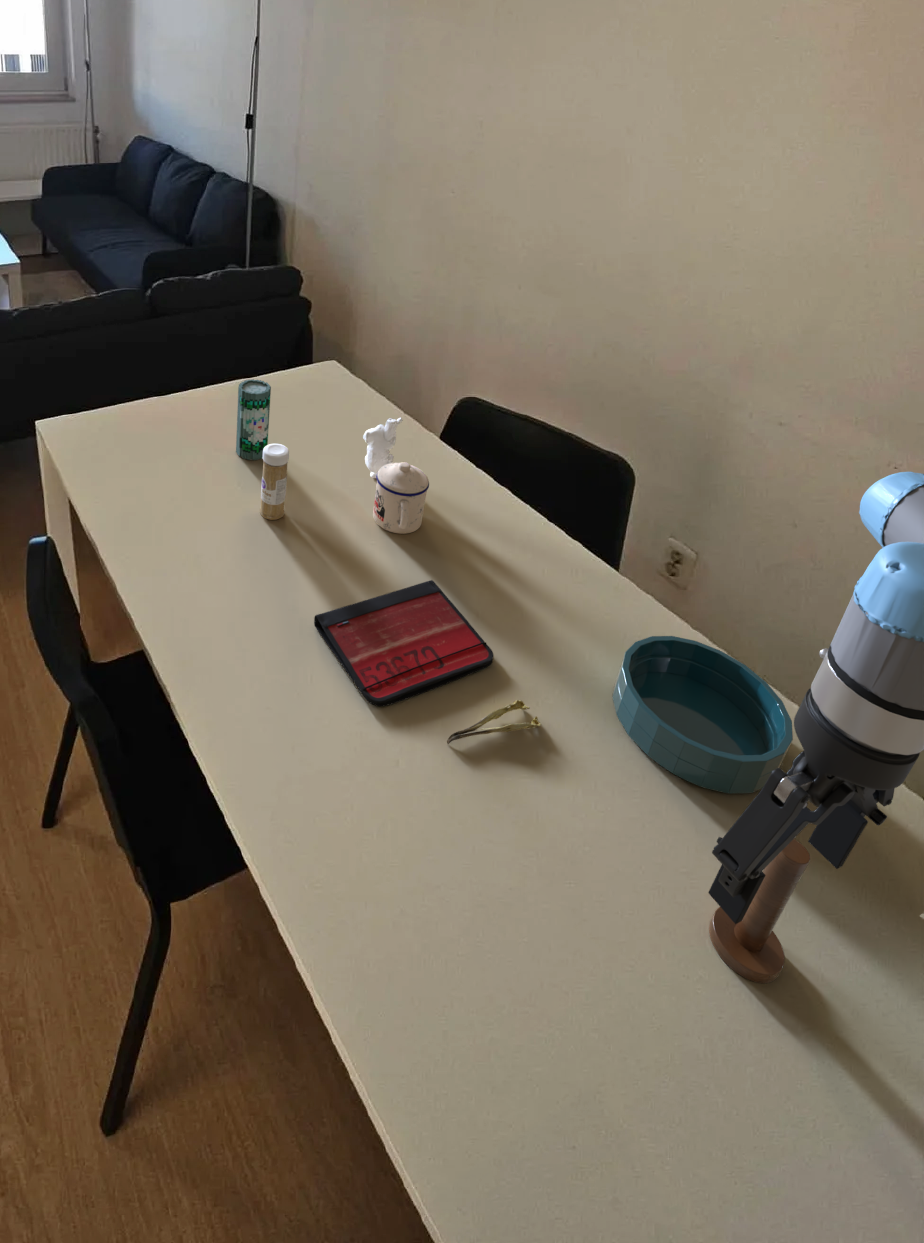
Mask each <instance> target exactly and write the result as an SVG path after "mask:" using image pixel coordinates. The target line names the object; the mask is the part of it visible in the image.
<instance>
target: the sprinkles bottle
mask: <svg viewBox="0 0 924 1243" xmlns="http://www.w3.org/2000/svg"><path fill="white" fill-rule="evenodd" d="M289 460H290V449H289V448H288V447H287V446H286V445H284V444H281V443H270V444H269V443H268V445H267V446H265V447H264V449H263V457H262V461H263V462H262V464H263V465H262V477H261V488H260V507H259V514H260V516H261V517H263V518H264V519H266V520H269V521H270V520H271V521H277V520H279V519H281V518H283V517H284V515H285V502H286V494H287V481H288V480H287V479H288V463H289Z"/></svg>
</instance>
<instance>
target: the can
mask: <svg viewBox="0 0 924 1243" xmlns="http://www.w3.org/2000/svg"><path fill="white" fill-rule="evenodd" d="M271 393H272V386H271V385H270V384H269V383H268V382H267V381H264V380H261V379H254V378H253V379H246V380H243V381H241V382H240V383H239V384H238V389H237V411H236V413H237V414H236V438H235V439H236V440H235V441H236V442H235V453H236V454H237V455H238V457H239V458H241V459H244V460H247V461H258V460H263V449H264V447H265V446H267V445H269V430H270V429H269V428H270V410H271V409H270V408H271V395H272V394H271Z"/></svg>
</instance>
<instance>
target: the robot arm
mask: <svg viewBox="0 0 924 1243" xmlns="http://www.w3.org/2000/svg"><path fill="white" fill-rule="evenodd" d="M858 514H859V516H860V520H861V522H862V524H863V525H864V527H865V528H866V529H867V530H868V531H869V533H870V534H871V536H872V537H873V538H874V539H875V540H876V542H877V543H878V544H879V545H880V546H881V549H879V550H878V551H877V553H876V554H875V555H874V557H873V559H872V560H871V561H870V563H869V565H868V566H867V567H866V570H865V571H864V573H863V575H861V576H860V577H859V579H858V580H857V581H856V584H855V585H854V588H853V589H854V590H853V593H852V596H851V598H850V600H849V603H848V605H847V607H846V609H845V611H844V613H843V616H842V617H841V620H840V623H839V625H838V627H837V628H836V631H835V634H834V635H833V638H832V640H831V642H830V644H829V646H828V647H825V648H822V649H821V650H819V652H818V655H819V657H820V659H822V661H821V664H820V666H819V668H818V670H817V672H816V674H815V676H814V678H813V680H812V682H811V685H810V688H809V689H808V690H807V691H806V693H805V695H804V697H803V698H802V700H801V703H800V705H799V707H798V709H797V711H796V713H795V716H794V718H793V727H794V731H795V734H796V737H797V739H798V741H799V743H800V745H801V748H802V750H803V751H801V752H800V753H799V754H798V755H797V756H796V757H795V758H794V759H793V761H792V766H791V767H790V768H789V769H788V771H787V772H785V771H784V770H783V769H782V768H777V769H774V770H773V771H772V772H771V775H770V776H769V778H768V780H767V782H766V783H765V785H764V787H763V788H762V789H760V791H759V792H758V793H757V795H756V796H755V798H753V800H752V801H751V803H749V805H748V806H747V807H746V809H745V810H744V811H743V812H742V813H741V815H740V816H739V817H738V818H737V820H735V822H734V823H733V824H732V826H731V827H730V828H729V830H728V831H726V833H725V835H723V837H722V836H718V838H717V839H716V843H717V844H716V845H714V846H713V849H712V851H711V853H712V855H713V856H714V857H715V859H716V860H718V861H719V863H720V867H719V869H718V872H717V873H716V875H715V878H714V879H713V882H712V884H711V886H710V888H709V890H708V892H707V893H708V895H709V896H710V897H711V898H712V900H714V902H715V903H716V904H717V905H718V907H721V908H722V909H723V910H724V912H725V913H726V914H727V915H728V916H729V917H730V918H731V920H732V921H733V922H734V923H735V924H737V923H739V922H741V921H742V919H743V918H744V916H745V914H746V912H747V910H748V908H749V906H750V904H751V902H752V900H753V898H754V897H755V895H756V893H757V891H758V889H759V887H760V885H761V883H762V881H763V879H764V878H765V876H766V875H765V874H764V873H763V870H764V869H765V868H766V867H767V866H768V865H769V863H770V862H771V861H772V860H773V859H774V858H775V857H776V856H777V855H778V854H779V853H780V852H781V851H782V850H783V849H784V848H785V847H786V846H787V845H788V844H789V843H790V842H791V841H792V840H793V839H795V838H796V837H797V836H798V835H799V834H800V833H801V832H802V831H804V829H805V828H806V827H807V826H809V824H811V825H814V826H815V827H814V830H812V833H811V835H810V837H809V838H808V840H807V842H808V843H809V844H810V845H811V846H812V847H813V848H814V849H815V850H816V851H817V852H818V853H819V854H820V855H821V856H822V857H824V859H826V860H827V861H828V863H830V865H832V866H833V867H834V868H835V869H836V870H838V869H840V868H842V867H843V866H844V864H845V862H846V861H847V859H848V857H849V855H850V854H851V852H852V851H853V848H854V847H855V845H856V843H857V842H858V840H859V838H860V837H861V835H862V833H863V831H864V830H865V828H866V826H867V825H868V823H869V820H871V821H872V822H873V823H874V824H875V825H876V826H880V825H882V824H883V823H884V822H885V821H886V820H887V818H888V815H886V814H885V813H884V812H883V811H881V810H880V809H879V807H878V805H877V804H880V805H881V806H882V807H886V806H890V805H891V804H892V803H893V799H894V796H895V795H894V794H895V789H896V788H898V787H900V786H901V785H902V784H903V783H904V782H905V781H906V779H907V777H908V775H909V774H910V772H911V770H912V769H913V767H914V766H915V764H916V762H917V760H918V758H919V756H920V754H921V752H922V751H924V473H923V472H914V471H901V472H896V473H892V474H889V475H887V476H885V477H883V478H880V479H878V480H877V481H875V482H874V483H873V484H872V485H870V486H869V487H868V489H866V491H865V492H864V493H863V495H862V497H861V500H860V503H859V511H858ZM808 802H810V803H811V805H813V806H815V807H817V808H816V809H815V810H812V809H810V808H809V807H808ZM865 817H867V818H868V819H869V820H867V819H866V818H865Z"/></svg>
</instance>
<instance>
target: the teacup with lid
mask: <svg viewBox="0 0 924 1243" xmlns="http://www.w3.org/2000/svg"><path fill="white" fill-rule="evenodd" d="M375 479H376V487H375V495H374V503H373V509H372V510H373V511H372V517H373V520H374V522H375V523H376V524H377V525H378V526H379V527H380V528H382V529H383V530H385V531H387V532H390V533H394V534H401V535H403V534H404V535H405V534H410V533H413V532H415V531H417V530H418V529H419V528H421V526H422V522H423V516H424V511H425V504H426V498H427V491H428V489H429V488H430V480H429V477H428V476H427V474H426V473H425V472H424V471H423V470H422V469H420V468H419V467H417V466H415V465H412V464H410V463H408V462H407V461H400V462H392V463H390V464H387V465H384V466H383V467H381V468H380V469H379V471H378V473H377V476H376V478H375Z"/></svg>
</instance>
